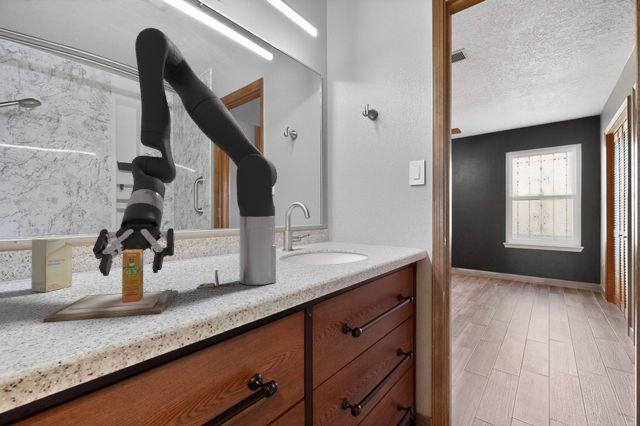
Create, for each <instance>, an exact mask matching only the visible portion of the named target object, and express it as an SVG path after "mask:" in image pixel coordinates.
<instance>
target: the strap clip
mask: <svg viewBox="0 0 640 426" xmlns="http://www.w3.org/2000/svg"><path fill="white" fill-rule="evenodd" d="M218 272H219V270H217V269H216V270H215V271H214V280H215V283H214V282H203V283H199V284H198V285H197V290H207V289H210V290H211V289H215V287H216V288H218V289H221V288H233V287H235V283H233V282H232V283H231V282H230V283H220V282H219V275H218Z"/></svg>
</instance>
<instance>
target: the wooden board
mask: <svg viewBox="0 0 640 426" xmlns="http://www.w3.org/2000/svg"><path fill="white" fill-rule="evenodd" d="M178 294H179V289H178V290H177V289H176V290H173V289H165V290H158V291H143V297H142V299H141V300H140V301H134V302H124V303H123V302H122V292H121V293H108V294H107V293H106V294H104V293H103V294H102V293H101V294H91V295H90V294H88V295H85V296H83V297H81V298H79V299H78V300H76V301H74V302H71V303H70V304H68V305H66V306H64V307H62V308H61V309H59V310H57V311H54V312H53V313H51V314H49V315H47V316H45V317H43V323H46V322H61V321H73V320H74V321H76V320H87V319H100V318H101V319H102V318H113V317H116V318H117V317H127V316H142V315H155V314H156V315H157V314H162V313H163V312H164V311H165V309H166V308H167V307H169V304H171V302H172V301H173V300H174V299H175V298H176V296H177V295H178Z"/></svg>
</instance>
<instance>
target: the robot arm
mask: <svg viewBox="0 0 640 426" xmlns="http://www.w3.org/2000/svg"><path fill="white" fill-rule="evenodd" d="M135 39H136V40H135V42H134V43H135V44H134V47H135V57H136V64H137V73H138V82H139V83H138V84H139V89H140V102H141V108H140V109H141V112H140V113H141V116H140V136H139V137H140V142H141V145H143V146H144V147H147V148H149V149H154V150H156V151H159V153H160V154H161V156H152V155H144V154H143V155H137V156H136V157H134V158H133V159H132V160H131V163H130V170H131V173H132V175H131V176H132V178H133V186H132V190H131V193H130V196H129V198H128V200H127V203H126V207H125V210H124V214H123V215H122V220H121V223H120V228H119V229H118V230H117V231H108V229H107V228H103V229H101V230H100V232H99V234H98V236H97V238H96V240H95V243H94V245H93V247H92V252H93V255H94V256H95V258H96V259H97V260H100V262H99V264H98V265H99V266H98V270H99V272H100V273H101V275H103V277H109V275H110V272H111V268H112V265H113V262H114V261H113V260H114V259H115V258H116V257H118V256H121V255H123V252H124V251H125V250H139V249H143V251H146V250H149V251H150V252H151V253H152V254H153V255H154V256H153V260H152V268H151V269H152V273H153V274H158V273H159V271H161V270H162V269H163V264H164V258H165V257H167V256H168V257H172V256H173V257H174V255H175V239H176V238H175V232H174V231H175V230H174V228H172V227H170V228H168V229H167V230H165V231H164V230H163V231H162V230H161V224H162V218H163V216H164V200H165V196H166V186H165V185H166V184H171V183H173V182H174V180H175V179H176V176H177V168H176V164H175V161H174V157H173V155H172V148H171V133H172V132H171V130H172V129H171V127H172V122H171V121H172V120H171V118H172V117H171V111H170V106H169V103H168V99H167V94H166V90H165V82H166V83H168V84H169V86H170V87H171V88H172V89H173V90H174V91H175V92H176V94H177V95H178V97H179V98H180V101H181V102H182V105H183V107H184V109H185V111H186V113H187V114H188V116H189V118H190V119H191V121H193V122H194V124H195V125H196V126H197V127H198V129H199V130H200V131H201V132H202V133H203V135H205V136H206V137H207V138H208V139H209V140H210V141H211V142H212V143H214V145H216V147H218V148H219V149H220V150H221V151H223V153H225V154H226V155H227V157H228V158H230V160H231V161H232V162H233V163H234V165H235V166H236V178H235V179H236V201H237V207H238V211H239V283H240V284H243V285H247V286H258V285H267V284H271V283H272V284H274V283H277V246H276V207H275V204H274V197H273V188H274V186H275V185H276V184H277V180H278V171H277V169H276V166H275V165H274V163H272V161H271V160H269V159H268V158H267V157H266V156H265V155H264V154H263V153H262V152H261V151H260V150H259V149H258V148H257V147H256V146H255V145H254V144H253V142H251V140H250V139H249V137H248V136H247V135H246V133H245V131H244V130H243V128H242V127H241V125H240V124H239V122H238V121H237V119H236V118H235V117H234V116H233V115H232V113H231V112H230V110H229V109H228V108H227V106H226V105H225V103H223V101H222V100H221V99H220V98H219V96H217V95H216V94H215V92H214V91H213V90H212V89H211V88H209V87H208V85H206V84H205V83H204V82H203V81H202V80H201V79H199V77H198V76H197V74H196V73H195V72H194V70H193V69H192V67H191V66H190V64H189V63H188V61H187V60H186V57H185V56H184V55H183V53H182V51H181V50H180V48H178V46H177V45H176V44H175V43H174V42H173V41H172V40H171V38H169V36H167V34H165V33H164V32H163V31H162V30H160V29H158V28H155V27H147V28H145V29H142V30H141V31H140V32H138V35H137V36H136V38H135ZM164 81H165V82H164ZM161 238H163V240H164V241H166V246H165V247H162V246H161V245H160V244H159V243H158V241H160V240H161ZM109 244H110V245H109Z"/></svg>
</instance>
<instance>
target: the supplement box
mask: <svg viewBox="0 0 640 426" xmlns="http://www.w3.org/2000/svg"><path fill="white" fill-rule="evenodd" d="M121 267H122V270H121V271H122V274H121V277H122V280H121V285H122V287H121V289H122V290H121V293H122V302H123V303H124V302H134V301H140V300H141V299H142V297H143V292H144V250H143V249H139V250H125V251H124V252H123V254H122V266H121Z"/></svg>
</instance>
